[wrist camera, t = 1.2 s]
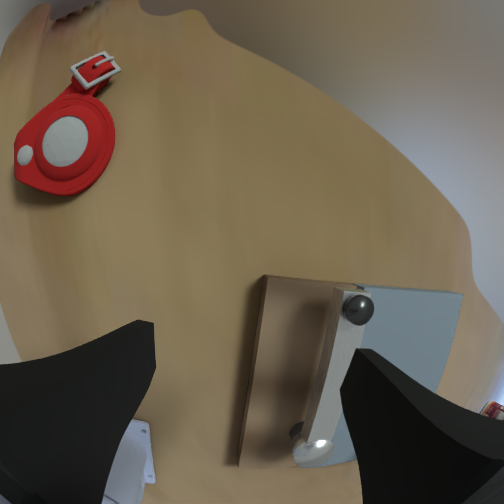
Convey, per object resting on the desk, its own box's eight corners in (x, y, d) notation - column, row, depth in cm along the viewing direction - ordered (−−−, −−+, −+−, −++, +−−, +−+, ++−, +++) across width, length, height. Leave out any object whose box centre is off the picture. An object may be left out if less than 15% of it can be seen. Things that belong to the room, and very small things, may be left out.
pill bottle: (494, 403, 26) (522, 418, 18) (479, 425, 26) (506, 442, 18) (490, 396, 26) (521, 413, 18) (474, 420, 26) (504, 439, 17)
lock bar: (321, 452, 18) (331, 469, 15) (285, 456, 17) (293, 475, 15) (365, 289, 17) (385, 295, 15) (324, 285, 17) (341, 292, 14)
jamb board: (304, 455, 21) (312, 473, 18) (236, 458, 20) (239, 478, 17) (347, 283, 20) (366, 288, 18) (263, 274, 19) (272, 280, 17)
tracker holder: (123, 184, 17) (6, 212, 13) (126, 184, 21) (27, 207, 17) (121, 37, 14) (10, 67, 10) (122, 59, 18) (26, 83, 14)
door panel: (404, 434, 23) (412, 443, 21) (308, 455, 21) (314, 467, 19) (449, 291, 22) (463, 294, 20) (352, 283, 20) (364, 287, 18)
